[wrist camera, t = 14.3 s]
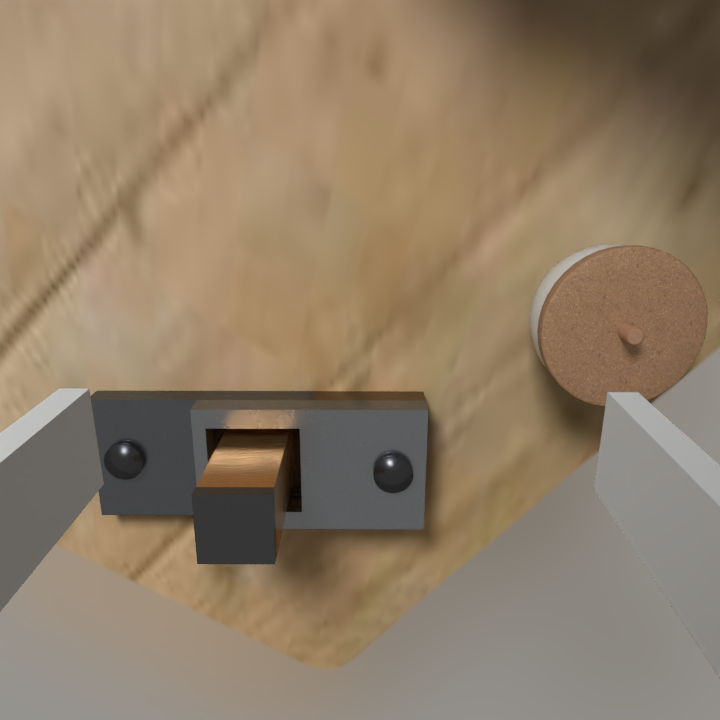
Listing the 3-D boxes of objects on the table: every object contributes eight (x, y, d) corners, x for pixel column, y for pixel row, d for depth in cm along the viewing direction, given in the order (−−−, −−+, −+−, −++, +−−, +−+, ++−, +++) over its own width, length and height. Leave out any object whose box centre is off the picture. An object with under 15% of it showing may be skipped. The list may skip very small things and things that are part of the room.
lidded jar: (578, 398, 49) (627, 449, 40) (483, 311, 47) (512, 343, 38) (682, 300, 46) (759, 330, 37) (587, 203, 44) (645, 211, 35)
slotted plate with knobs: (97, 390, 48) (70, 412, 44) (423, 391, 48) (429, 413, 44) (111, 502, 51) (88, 532, 47) (419, 503, 51) (424, 533, 47)
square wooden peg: (230, 420, 49) (191, 494, 38) (292, 420, 49) (271, 495, 38) (234, 475, 51) (197, 564, 39) (294, 475, 51) (274, 564, 39)
